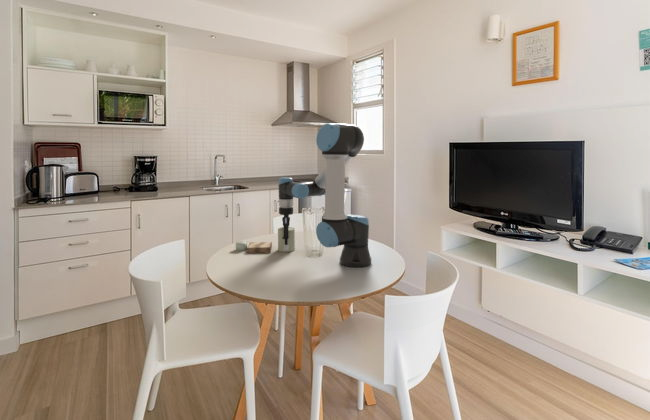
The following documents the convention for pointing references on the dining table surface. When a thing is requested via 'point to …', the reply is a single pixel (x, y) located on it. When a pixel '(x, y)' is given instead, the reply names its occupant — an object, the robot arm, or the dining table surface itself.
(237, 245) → the pale green rounded block
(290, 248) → the can
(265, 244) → the stand
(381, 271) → the dining table surface
